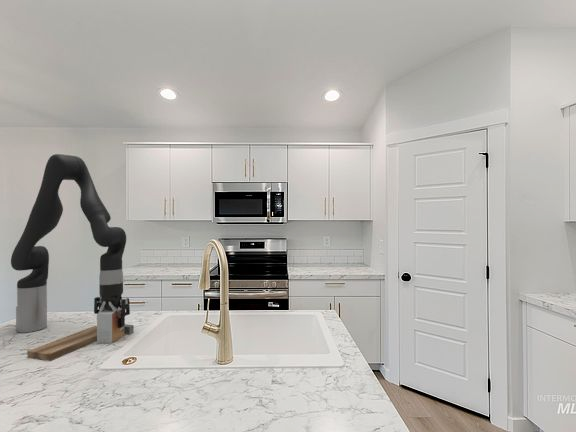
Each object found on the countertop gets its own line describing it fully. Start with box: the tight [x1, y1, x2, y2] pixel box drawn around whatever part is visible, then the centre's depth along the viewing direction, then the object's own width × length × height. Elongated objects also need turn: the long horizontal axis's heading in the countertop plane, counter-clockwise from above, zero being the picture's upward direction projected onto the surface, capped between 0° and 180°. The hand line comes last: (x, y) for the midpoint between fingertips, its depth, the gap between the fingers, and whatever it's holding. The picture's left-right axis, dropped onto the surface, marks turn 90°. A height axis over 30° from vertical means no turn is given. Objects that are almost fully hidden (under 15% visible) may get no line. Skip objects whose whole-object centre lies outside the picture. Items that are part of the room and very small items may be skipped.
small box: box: [96, 308, 125, 344], centre depth 111 cm, size 8×6×10 cm
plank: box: [26, 325, 97, 362], centre depth 107 cm, size 10×24×2 cm, turn 163°
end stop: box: [124, 323, 135, 336], centre depth 117 cm, size 6×2×3 cm, turn 73°
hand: (111, 326), depth 111 cm, fingers open, 8 cm apart
